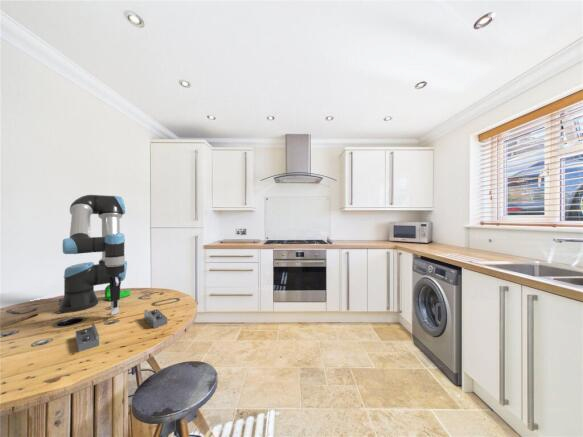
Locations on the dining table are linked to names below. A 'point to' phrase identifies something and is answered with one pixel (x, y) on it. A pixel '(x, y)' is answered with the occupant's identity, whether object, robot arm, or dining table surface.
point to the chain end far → (155, 318)
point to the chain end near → (87, 338)
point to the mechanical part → (122, 293)
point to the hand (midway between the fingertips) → (114, 313)
